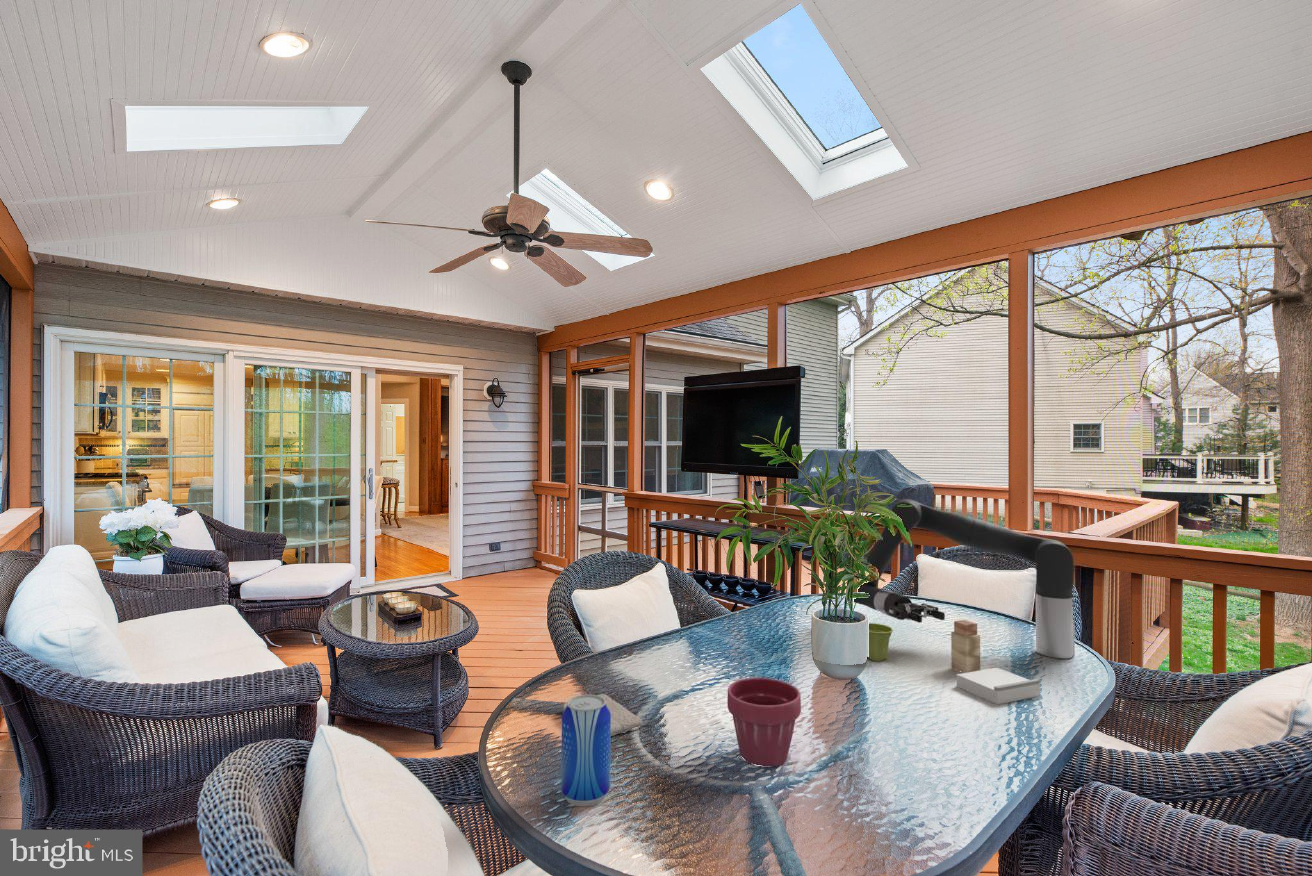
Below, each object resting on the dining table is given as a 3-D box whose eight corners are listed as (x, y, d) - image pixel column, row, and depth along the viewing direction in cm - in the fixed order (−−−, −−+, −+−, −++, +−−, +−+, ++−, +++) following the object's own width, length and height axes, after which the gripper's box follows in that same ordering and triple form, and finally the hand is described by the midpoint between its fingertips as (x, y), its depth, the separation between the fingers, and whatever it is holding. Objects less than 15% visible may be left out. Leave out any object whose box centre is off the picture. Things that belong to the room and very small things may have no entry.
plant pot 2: (887, 653, 185) (887, 623, 185) (896, 664, 176) (896, 632, 176) (855, 651, 186) (855, 622, 186) (862, 662, 177) (862, 631, 177)
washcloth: (603, 702, 149) (603, 689, 149) (645, 730, 134) (645, 716, 134) (557, 714, 142) (557, 701, 142) (596, 745, 127) (596, 730, 127)
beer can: (562, 783, 112) (563, 693, 112) (609, 781, 112) (610, 691, 113) (559, 810, 103) (560, 712, 104) (610, 808, 104) (611, 711, 104)
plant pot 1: (785, 783, 112) (785, 711, 113) (714, 762, 120) (714, 694, 120) (810, 750, 124) (810, 685, 125) (745, 733, 132) (745, 672, 132)
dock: (996, 679, 164) (996, 664, 164) (1039, 696, 153) (1039, 680, 153) (956, 686, 159) (956, 671, 159) (997, 704, 148) (997, 688, 148)
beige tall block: (965, 666, 174) (964, 619, 174) (980, 672, 169) (980, 623, 170) (951, 668, 172) (951, 620, 173) (966, 674, 168) (966, 625, 168)
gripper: (874, 593, 194) (913, 606, 179) (910, 590, 199) (951, 603, 184) (874, 618, 194) (913, 633, 179) (909, 614, 199) (951, 628, 184)
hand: (932, 617), depth 182 cm, fingers open, 8 cm apart
